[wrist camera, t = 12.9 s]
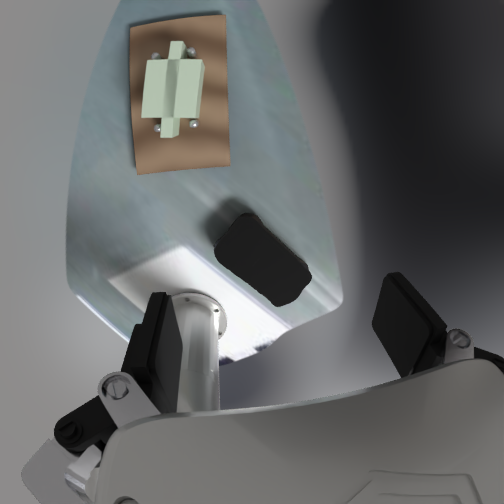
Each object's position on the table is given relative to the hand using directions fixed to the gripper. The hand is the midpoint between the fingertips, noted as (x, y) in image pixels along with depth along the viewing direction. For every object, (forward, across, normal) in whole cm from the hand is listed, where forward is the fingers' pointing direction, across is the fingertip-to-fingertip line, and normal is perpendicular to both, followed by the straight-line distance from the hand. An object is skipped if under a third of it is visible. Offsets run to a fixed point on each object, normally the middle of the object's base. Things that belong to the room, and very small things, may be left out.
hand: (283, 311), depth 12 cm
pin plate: (+30, +8, -12) cm, 33 cm away
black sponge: (+31, -3, +14) cm, 34 cm away
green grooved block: (+29, +8, -12) cm, 32 cm away
